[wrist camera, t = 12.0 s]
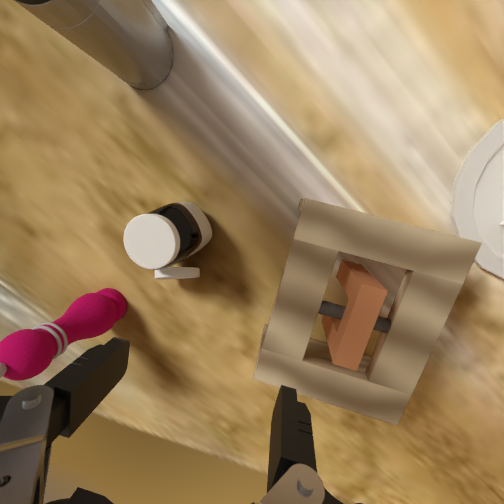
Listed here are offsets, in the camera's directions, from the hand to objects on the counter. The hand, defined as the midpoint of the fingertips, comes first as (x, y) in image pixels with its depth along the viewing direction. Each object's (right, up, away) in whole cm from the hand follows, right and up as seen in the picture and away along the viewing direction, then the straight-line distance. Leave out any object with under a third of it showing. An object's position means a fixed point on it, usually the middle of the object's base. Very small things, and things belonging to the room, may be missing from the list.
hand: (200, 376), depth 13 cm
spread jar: (-8, +8, +30) cm, 32 cm away
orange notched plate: (+15, 0, +24) cm, 28 cm away
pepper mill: (-23, -3, +34) cm, 42 cm away
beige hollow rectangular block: (+16, +1, +28) cm, 32 cm away
